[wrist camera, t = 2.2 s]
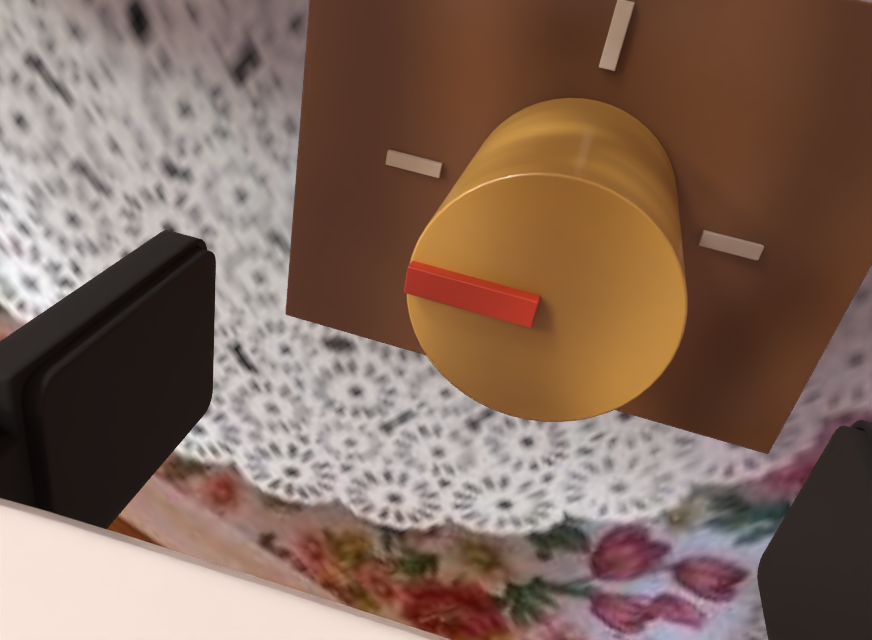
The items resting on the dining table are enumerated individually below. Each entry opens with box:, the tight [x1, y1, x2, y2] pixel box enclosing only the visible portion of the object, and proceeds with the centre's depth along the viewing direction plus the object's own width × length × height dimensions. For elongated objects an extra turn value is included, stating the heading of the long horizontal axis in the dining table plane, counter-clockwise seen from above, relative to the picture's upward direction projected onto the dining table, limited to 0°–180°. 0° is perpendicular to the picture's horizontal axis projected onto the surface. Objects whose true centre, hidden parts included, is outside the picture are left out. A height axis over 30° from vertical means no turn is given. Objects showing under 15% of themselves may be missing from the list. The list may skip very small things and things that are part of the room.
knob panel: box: [286, 0, 872, 454], centre depth 19 cm, size 14×11×3 cm
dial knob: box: [404, 98, 688, 422], centre depth 15 cm, size 5×5×6 cm
